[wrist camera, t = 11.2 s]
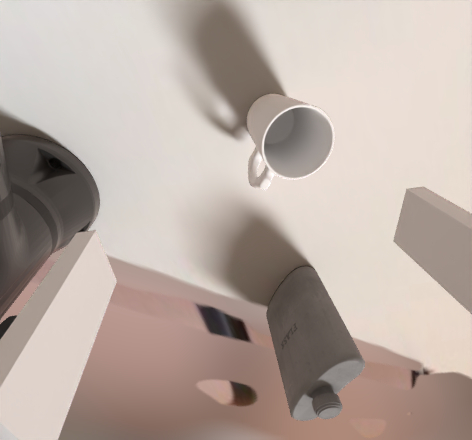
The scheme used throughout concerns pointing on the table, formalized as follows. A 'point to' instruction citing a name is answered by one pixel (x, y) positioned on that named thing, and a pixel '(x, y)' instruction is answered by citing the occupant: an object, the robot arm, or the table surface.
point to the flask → (311, 346)
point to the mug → (287, 139)
